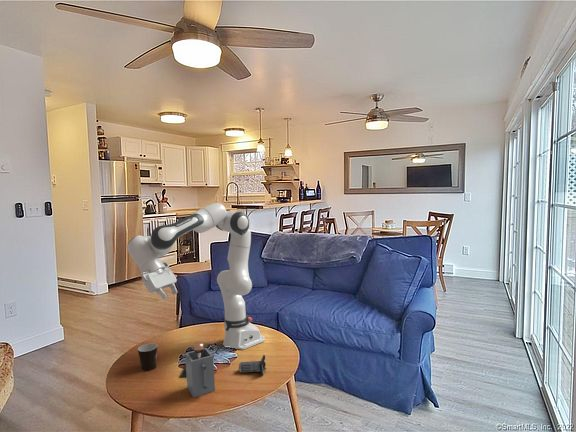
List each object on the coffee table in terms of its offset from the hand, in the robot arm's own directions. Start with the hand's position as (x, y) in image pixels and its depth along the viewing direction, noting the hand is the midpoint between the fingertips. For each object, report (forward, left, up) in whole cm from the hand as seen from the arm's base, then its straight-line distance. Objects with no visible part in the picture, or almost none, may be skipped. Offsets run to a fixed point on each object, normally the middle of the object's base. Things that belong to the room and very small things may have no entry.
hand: (171, 295), depth 153 cm
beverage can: (-31, +12, -39) cm, 51 cm away
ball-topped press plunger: (-7, +12, -33) cm, 36 cm away
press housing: (-7, +14, -38) cm, 41 cm away
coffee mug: (+7, -21, -38) cm, 44 cm away
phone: (-9, -7, -39) cm, 40 cm away
